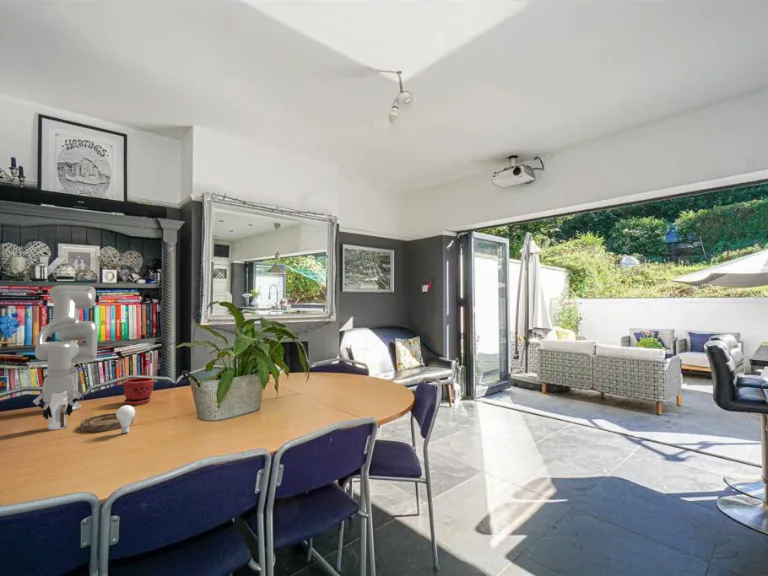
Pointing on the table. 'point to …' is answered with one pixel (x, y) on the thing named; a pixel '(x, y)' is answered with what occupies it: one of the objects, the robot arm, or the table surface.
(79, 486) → the table surface
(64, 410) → the beer glass
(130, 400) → the plant pot
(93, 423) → the tray
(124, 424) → the lightbulb
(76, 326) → the robot arm
